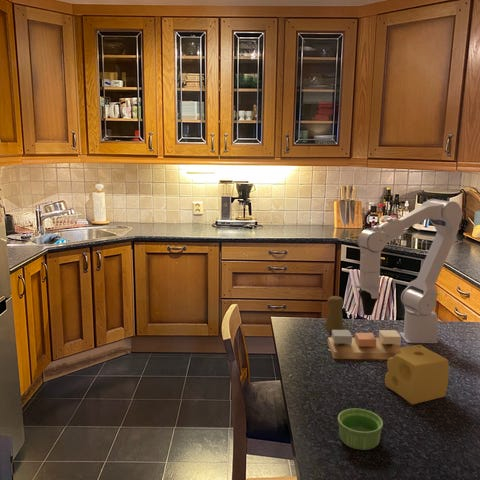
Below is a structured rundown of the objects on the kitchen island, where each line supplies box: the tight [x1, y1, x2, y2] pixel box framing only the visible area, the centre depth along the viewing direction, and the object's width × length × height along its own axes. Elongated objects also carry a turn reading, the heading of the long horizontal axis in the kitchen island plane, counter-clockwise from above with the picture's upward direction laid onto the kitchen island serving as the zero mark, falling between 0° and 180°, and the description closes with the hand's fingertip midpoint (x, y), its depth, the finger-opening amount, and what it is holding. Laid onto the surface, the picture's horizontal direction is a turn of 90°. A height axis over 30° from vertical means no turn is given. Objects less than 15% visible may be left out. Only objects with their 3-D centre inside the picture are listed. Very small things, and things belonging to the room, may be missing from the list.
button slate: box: [331, 329, 353, 344], centre depth 142 cm, size 5×5×2 cm
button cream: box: [378, 329, 402, 345], centre depth 141 cm, size 5×5×2 cm
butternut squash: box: [324, 295, 345, 333], centre depth 159 cm, size 6×6×11 cm
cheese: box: [384, 344, 450, 405], centre depth 118 cm, size 10×11×10 cm
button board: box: [327, 336, 402, 360], centre depth 142 cm, size 20×11×3 cm, turn 88°
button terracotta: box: [354, 332, 377, 347], centre depth 142 cm, size 5×5×2 cm
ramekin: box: [337, 408, 384, 451], centre depth 99 cm, size 9×9×4 cm
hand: (368, 314), depth 145 cm, fingers closed
